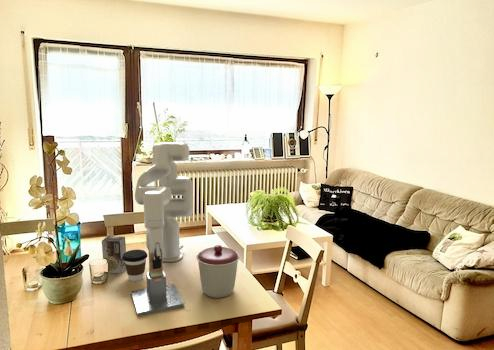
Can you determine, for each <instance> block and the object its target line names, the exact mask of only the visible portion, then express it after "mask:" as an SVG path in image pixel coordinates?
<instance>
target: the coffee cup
mask: <svg viewBox="0 0 494 350" xmlns="http://www.w3.org/2000/svg"><path fill="white" fill-rule="evenodd" d="M147 257H148V253H147V252H146V251H145V250H144V249H131V250H126V252H125V253H124V255H123V256H122V258H123V260H124V262H125V267H126V270H125V272H126V274H127V277H128V281H130V282H140V281H141V280H143V278H144V277H145V271H146V264H147V263H146V262H147Z"/></svg>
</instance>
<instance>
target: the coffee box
mask: <svg viewBox="0 0 494 350" xmlns="http://www.w3.org/2000/svg"><path fill="white" fill-rule="evenodd" d="M126 247H127V246H126V236H116V235H115V236H114V235H110V236H109V235H108V236H106V237H104V238H103V239H102V240H101V250H102V260H103V259H106V260H107V263H108V274H123V273H124V272H126V267H125V262H124V260H123V258H122V256H123V255H124V253H125V252H127V250H126Z"/></svg>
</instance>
